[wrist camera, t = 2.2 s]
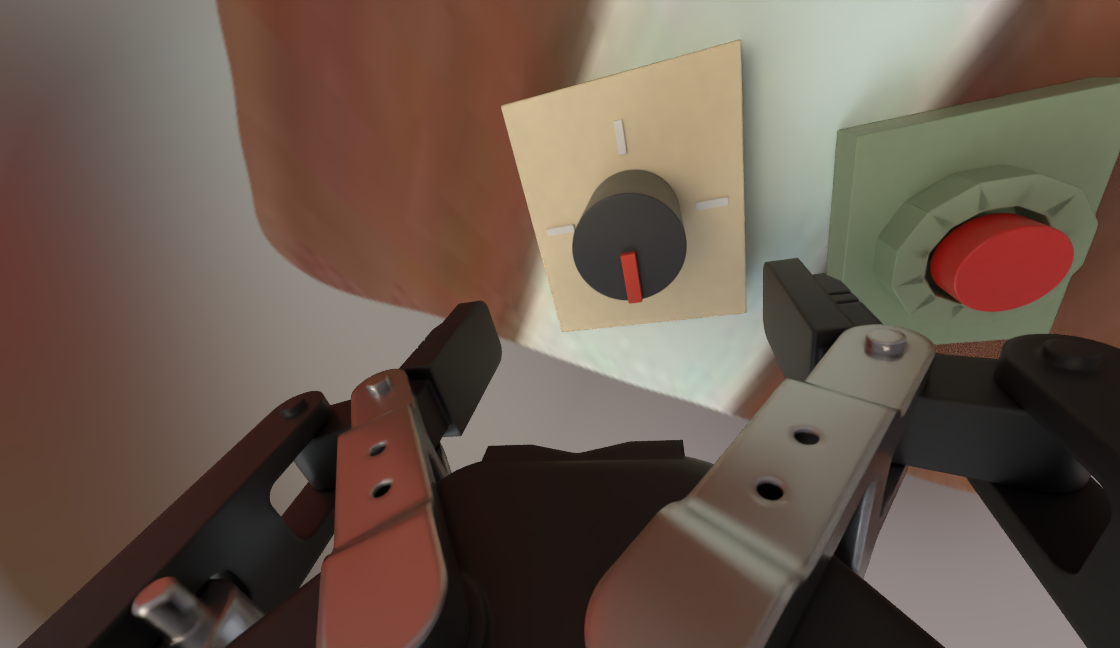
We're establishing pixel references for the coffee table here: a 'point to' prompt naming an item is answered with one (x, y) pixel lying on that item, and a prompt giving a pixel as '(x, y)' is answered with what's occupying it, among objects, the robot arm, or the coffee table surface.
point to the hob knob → (630, 237)
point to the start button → (1001, 261)
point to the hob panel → (652, 145)
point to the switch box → (968, 198)
